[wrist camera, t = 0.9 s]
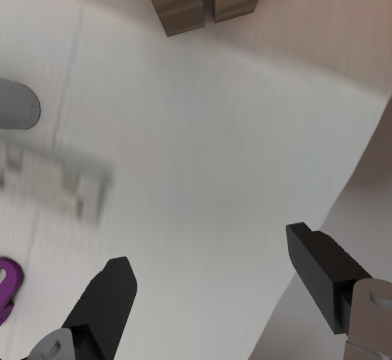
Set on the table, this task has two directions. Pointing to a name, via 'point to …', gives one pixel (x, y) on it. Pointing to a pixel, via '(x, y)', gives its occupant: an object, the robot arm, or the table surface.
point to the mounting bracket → (8, 286)
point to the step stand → (197, 13)
